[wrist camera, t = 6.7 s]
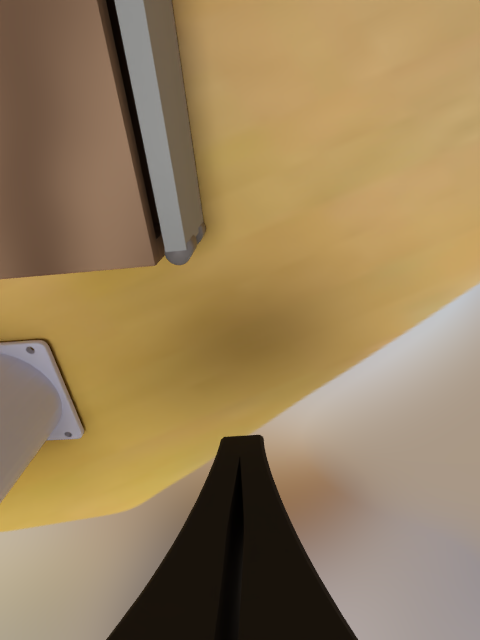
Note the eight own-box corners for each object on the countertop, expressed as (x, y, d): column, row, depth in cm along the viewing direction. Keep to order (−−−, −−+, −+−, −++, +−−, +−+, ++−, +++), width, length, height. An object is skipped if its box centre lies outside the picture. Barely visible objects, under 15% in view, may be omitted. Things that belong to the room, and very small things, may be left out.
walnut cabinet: (64, 244, 18) (-10, 280, 13) (-55, -111, 12) (-279, -305, 7) (183, 233, 17) (155, 265, 12) (118, -142, 11) (13, -376, 6)
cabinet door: (188, 238, 17) (165, 267, 12) (125, -138, 11) (42, -332, 7) (217, 235, 17) (204, 264, 12) (168, -145, 11) (111, -348, 7)
